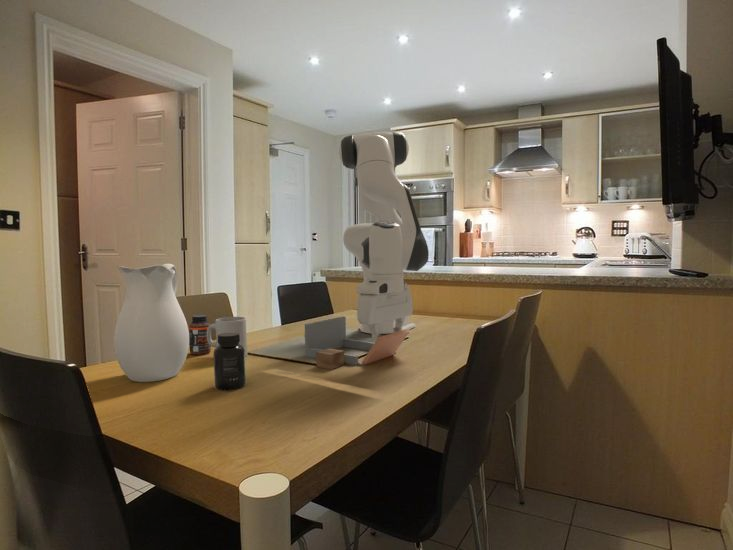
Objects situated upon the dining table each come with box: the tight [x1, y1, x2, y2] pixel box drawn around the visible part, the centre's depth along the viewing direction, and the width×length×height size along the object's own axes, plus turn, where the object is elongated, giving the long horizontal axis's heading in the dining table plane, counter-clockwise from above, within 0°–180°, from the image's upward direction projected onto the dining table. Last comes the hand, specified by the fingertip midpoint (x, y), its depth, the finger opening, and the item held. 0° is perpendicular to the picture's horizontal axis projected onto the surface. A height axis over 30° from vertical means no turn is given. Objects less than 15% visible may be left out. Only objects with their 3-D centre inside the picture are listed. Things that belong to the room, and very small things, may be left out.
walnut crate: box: [315, 348, 345, 370], centre depth 120 cm, size 5×5×5 cm
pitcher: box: [113, 263, 190, 383], centre depth 120 cm, size 24×17×28 cm
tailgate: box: [361, 329, 411, 366], centre depth 124 cm, size 1×13×9 cm
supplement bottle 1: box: [188, 314, 212, 356], centre depth 141 cm, size 6×6×11 cm
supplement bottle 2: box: [213, 333, 247, 391], centre depth 108 cm, size 7×7×12 cm
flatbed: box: [304, 315, 397, 367], centre depth 132 cm, size 20×16×10 cm
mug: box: [207, 316, 248, 358], centre depth 137 cm, size 12×8×11 cm
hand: (387, 337), depth 124 cm, fingers open, 8 cm apart
